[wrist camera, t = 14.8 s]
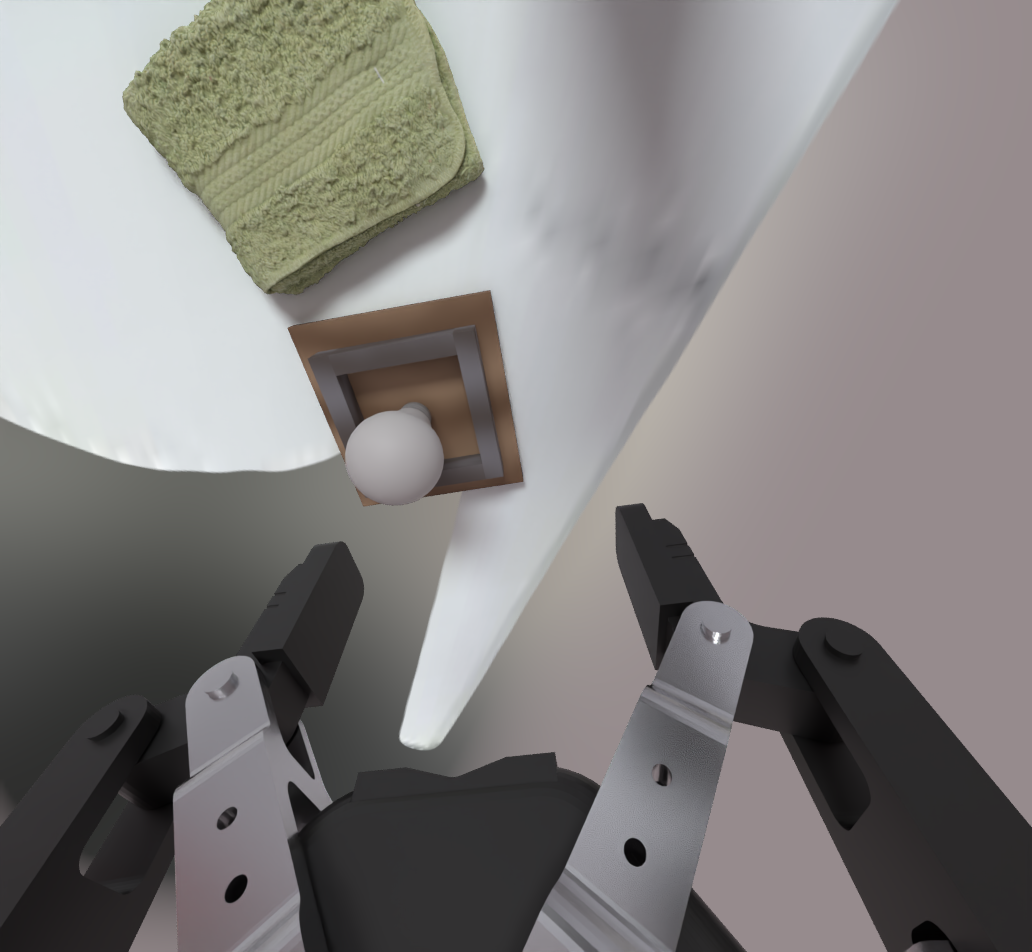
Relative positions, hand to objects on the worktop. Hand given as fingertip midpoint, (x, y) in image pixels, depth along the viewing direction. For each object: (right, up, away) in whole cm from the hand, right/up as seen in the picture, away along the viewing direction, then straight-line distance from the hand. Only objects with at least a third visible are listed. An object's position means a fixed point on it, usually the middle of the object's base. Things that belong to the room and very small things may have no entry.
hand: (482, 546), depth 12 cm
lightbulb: (-7, +7, +21) cm, 24 cm away
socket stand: (-7, +8, +22) cm, 24 cm away
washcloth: (-11, +23, +13) cm, 29 cm away
